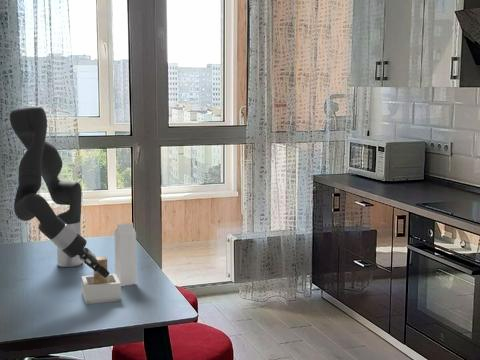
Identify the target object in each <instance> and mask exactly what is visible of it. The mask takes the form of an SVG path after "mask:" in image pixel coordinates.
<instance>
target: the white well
mask: <svg viewBox="0 0 480 360" xmlns="http://www.w3.org/2000/svg"><path fill="white" fill-rule="evenodd" d="M107 277H108V283H104V284H94V274H93V275H81V295H82V298H83V301H84V304H85V305H91V304H100V303H101V304H102V303H110V302H111V303H112V302H113V303H114V302H121V301H122V286H121V283H120V281H119V279H118V277H117V276H116V274H115V273H110V274H109V275H108V276H107Z"/></svg>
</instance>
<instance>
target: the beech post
mask: <svg viewBox="0 0 480 360" xmlns="http://www.w3.org/2000/svg"><path fill="white" fill-rule="evenodd" d="M95 258H96V259H97V262H98V263H100V264H101V265H102V266H103V267H104V268H105V269H106V270H107V269H108V258H107V256H106V255H105V256H96V257H95ZM96 266H97V264H95V265H94V267H96ZM107 271H108V270H107ZM93 275H94V284H104V283H108V277H106V278H105V277H103V276H102V275H101V274H100V273H99V272H98V271H94V270H93Z"/></svg>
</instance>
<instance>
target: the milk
mask: <svg viewBox="0 0 480 360" xmlns="http://www.w3.org/2000/svg"><path fill="white" fill-rule="evenodd" d="M114 274H116V276H117V277H118V279H119V281H120V283H121V287H127V286H132V285H133V284H134V285H137V232H136V230H135V228H134V223H133V222H124V223H117V224H116V228H115V230H114ZM126 285H127V286H126ZM134 285H133V286H134Z"/></svg>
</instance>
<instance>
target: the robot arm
mask: <svg viewBox="0 0 480 360" xmlns="http://www.w3.org/2000/svg"><path fill="white" fill-rule="evenodd" d="M9 123H10V125H11V127H12V128H11V129H12V130H13V132H14V134H15V135H16V136H17V138H18V139H19V141H20V142H21V143H22V144H23V146H24V147H25V149H26V151H25V153H24V155H23V156H22V157H21V160H20V162H19V165H18V178H17V179H18V185H17V189H16V193H15V198H14V202H13V210H14V214H15V216H16V218H17V219H18V220H20V221H23V222H27V221H31V220H32V219H34V218H35V219H37V221H38V222H39V224H38V231H40V232H41V233H42V234H43V235H44V236H45V237H47V238H48V239H49V240H50V242H52V243H53V244H54V245H55V246H56V255H57V257H56V259H57V262H56V264H57V266H59V267H62V268H72V267H74V268H75V267H77V266H81V264H83V263H84V264H85V265H86V266H88V267H89V268H91V269H92V270H93V272H94V271H98V272H99V273H100V274H101V275H102V276H103V277H105V278H106V277H107V276H108V275H109V274H111V273H110V272H109V270H108V268H107V270H106V269H105V268H104V267H103V266H102V265H101V264H100V263H98V262H97V259H96V258H95V257H97V256H96V255H95V254H94V253H93V252H92V251H91V250H90V249H89V248H87V247H86V246H87V240H86V239H85V237H83V236H82V226H81V223H82V222H81V216H82V196H83V195H82V185H81V184H80V182H78V181H69V180H68V181H65V180H60V179H59V175H60V173H61V171H62V168H63V160H62V157H61V155H60V153H59V151H58V149H57V148H56V147H55V146H54V145H53V144H52V143H50V142H48V141H46V137H47V133H48V132H47V131H48V117H47V113H46V111H45V110H44V108H43V107H42V106H40V105H39V106H38V105H35V106H27V107H20V108H15V109H13V110H11V111H10V114H9ZM42 180H43V181H44V183H45V185H46V188H47V191H48V194H49V195H50V198H51V200H52V201H53V203H55V205H62V206H69V209H67V210H66V211H64V212H61V213H58V214H56V213H55V211H54V209H53V208H52V207H51V206H50V204H49V203H48V201H47V200H46V199H45V197H43V196H42V195H40V194H38V193H39V190H40V189H41V186H42ZM95 264H97V266H96V267H94V265H95Z"/></svg>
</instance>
